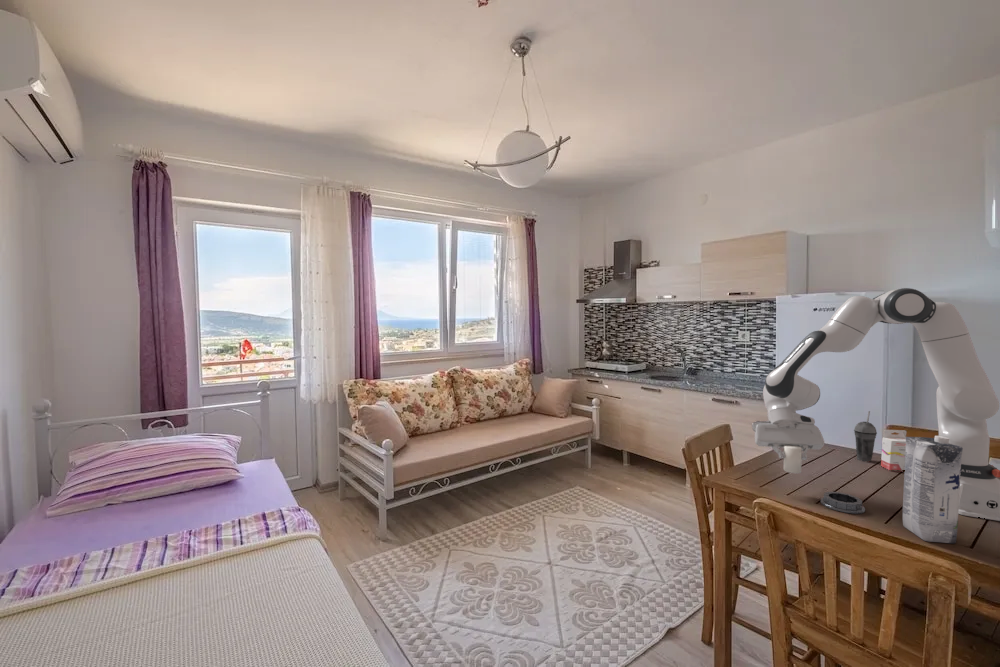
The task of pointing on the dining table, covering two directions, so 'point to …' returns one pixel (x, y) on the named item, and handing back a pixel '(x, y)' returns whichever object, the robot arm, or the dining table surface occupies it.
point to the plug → (792, 459)
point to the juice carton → (932, 488)
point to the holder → (843, 502)
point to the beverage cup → (865, 440)
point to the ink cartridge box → (893, 450)
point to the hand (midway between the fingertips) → (793, 458)
